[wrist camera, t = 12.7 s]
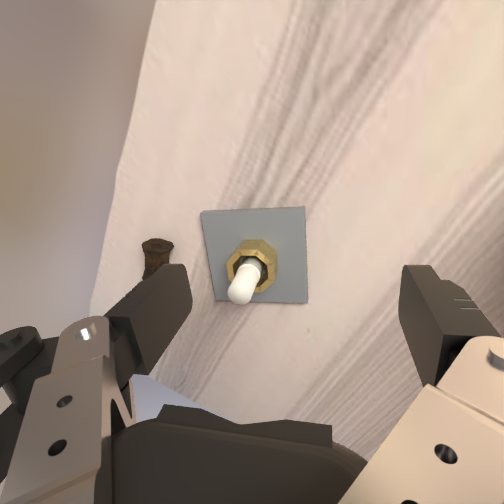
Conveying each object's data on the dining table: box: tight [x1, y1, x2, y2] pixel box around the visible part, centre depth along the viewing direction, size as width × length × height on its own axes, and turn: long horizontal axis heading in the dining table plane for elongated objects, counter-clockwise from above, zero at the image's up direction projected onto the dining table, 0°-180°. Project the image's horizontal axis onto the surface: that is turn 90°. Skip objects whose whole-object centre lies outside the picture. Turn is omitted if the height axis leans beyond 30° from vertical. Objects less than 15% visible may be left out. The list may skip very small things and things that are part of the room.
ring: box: [226, 239, 278, 292], centre depth 40 cm, size 6×6×4 cm
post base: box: [200, 207, 308, 305], centre depth 38 cm, size 14×14×10 cm
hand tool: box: [142, 238, 174, 280], centre depth 47 cm, size 19×4×5 cm, turn 166°
